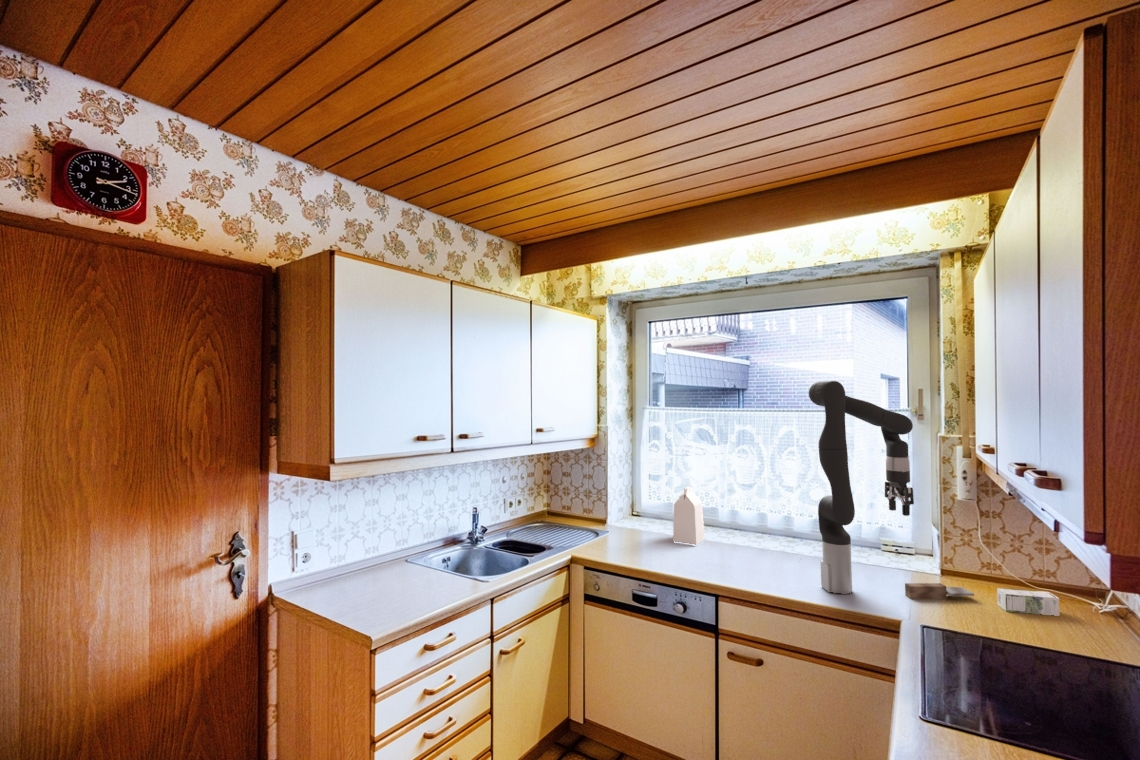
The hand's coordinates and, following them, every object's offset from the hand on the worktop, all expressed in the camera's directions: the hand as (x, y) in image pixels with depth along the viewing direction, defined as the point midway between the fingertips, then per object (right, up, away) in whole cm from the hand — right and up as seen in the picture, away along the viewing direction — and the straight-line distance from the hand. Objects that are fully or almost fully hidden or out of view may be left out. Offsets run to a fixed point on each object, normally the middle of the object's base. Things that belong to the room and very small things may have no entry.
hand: (899, 512), depth 197 cm
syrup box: (+18, -22, -24) cm, 37 cm away
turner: (+5, -26, -14) cm, 30 cm away
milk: (-65, -29, +59) cm, 92 cm away
